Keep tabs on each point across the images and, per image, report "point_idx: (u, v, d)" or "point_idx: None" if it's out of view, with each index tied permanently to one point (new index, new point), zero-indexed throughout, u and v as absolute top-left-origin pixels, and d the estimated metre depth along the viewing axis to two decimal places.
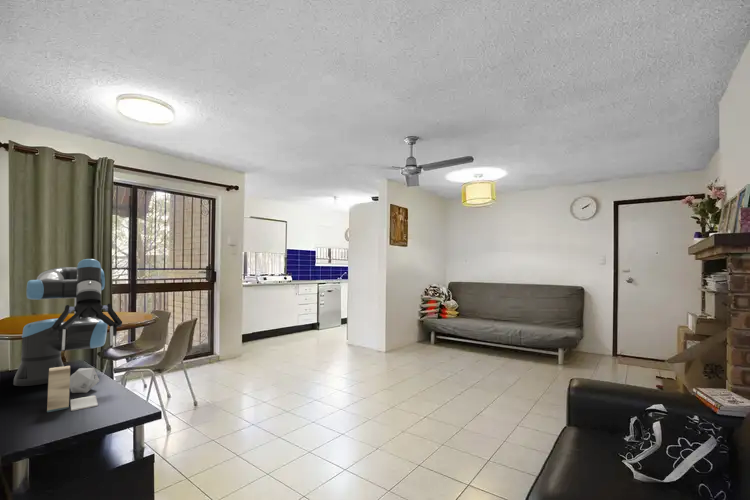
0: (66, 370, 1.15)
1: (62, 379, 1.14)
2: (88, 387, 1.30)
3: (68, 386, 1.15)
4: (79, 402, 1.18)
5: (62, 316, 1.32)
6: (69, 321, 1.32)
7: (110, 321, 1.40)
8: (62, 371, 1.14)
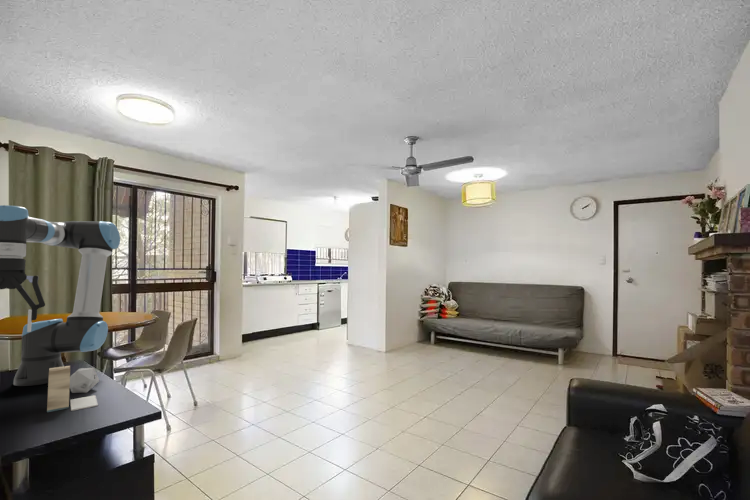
0: (66, 370, 1.15)
1: (62, 379, 1.14)
2: (88, 387, 1.30)
3: (68, 386, 1.15)
4: (79, 402, 1.18)
5: None
6: None
7: (29, 302, 1.13)
8: (62, 371, 1.14)
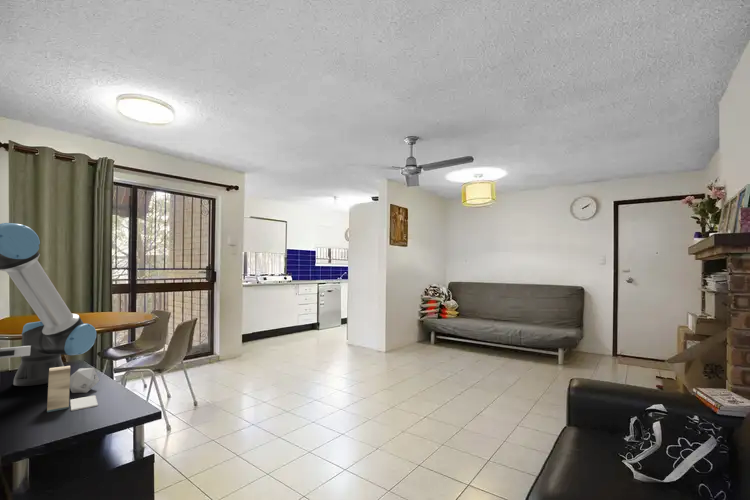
0: (66, 370, 1.15)
1: (62, 379, 1.14)
2: (88, 387, 1.30)
3: (68, 386, 1.15)
4: (79, 402, 1.18)
5: None
6: None
7: None
8: (62, 371, 1.14)
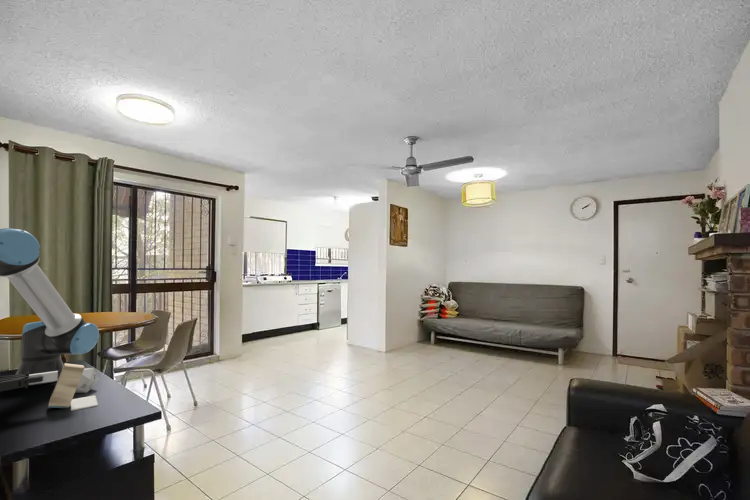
0: (80, 369, 1.17)
1: (73, 377, 1.15)
2: (88, 387, 1.30)
3: (76, 385, 1.16)
4: (79, 402, 1.18)
5: None
6: None
7: None
8: (76, 369, 1.16)
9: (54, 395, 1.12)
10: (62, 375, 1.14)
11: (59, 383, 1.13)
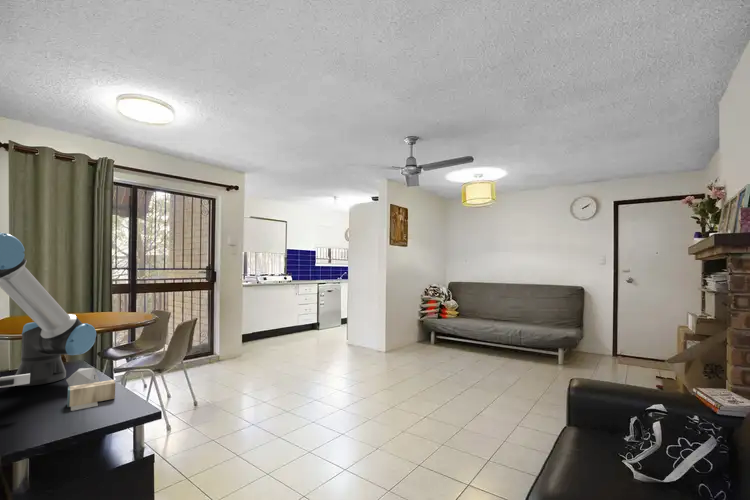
0: (113, 395, 1.22)
1: (103, 394, 1.20)
2: None
3: (94, 401, 1.18)
4: None
5: None
6: None
7: None
8: (112, 393, 1.22)
9: (82, 389, 1.17)
10: (105, 385, 1.20)
11: (96, 387, 1.19)
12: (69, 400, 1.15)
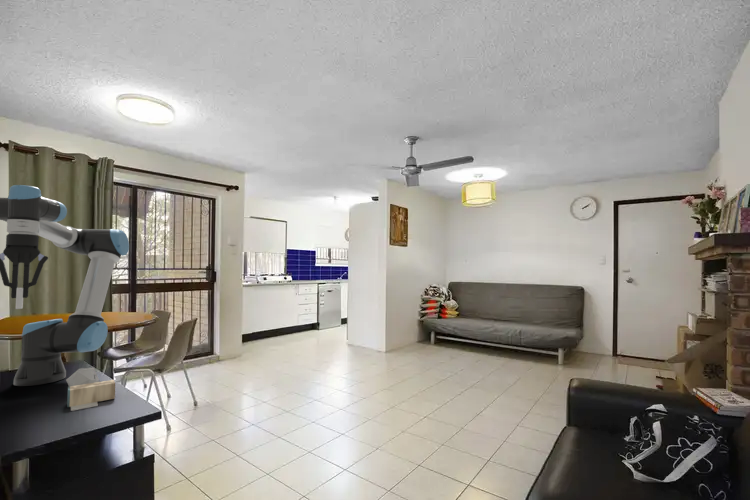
0: (113, 395, 1.22)
1: (103, 394, 1.20)
2: None
3: (94, 401, 1.18)
4: None
5: (2, 269, 1.15)
6: (15, 275, 1.17)
7: (25, 279, 1.18)
8: (112, 393, 1.22)
9: (82, 389, 1.17)
10: (105, 385, 1.20)
11: (96, 387, 1.19)
12: (69, 400, 1.15)
